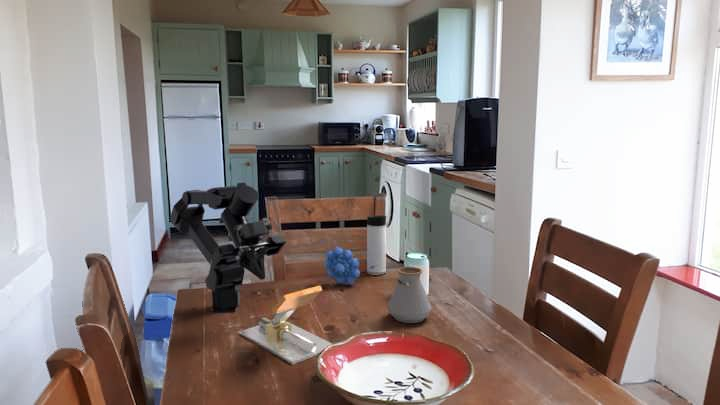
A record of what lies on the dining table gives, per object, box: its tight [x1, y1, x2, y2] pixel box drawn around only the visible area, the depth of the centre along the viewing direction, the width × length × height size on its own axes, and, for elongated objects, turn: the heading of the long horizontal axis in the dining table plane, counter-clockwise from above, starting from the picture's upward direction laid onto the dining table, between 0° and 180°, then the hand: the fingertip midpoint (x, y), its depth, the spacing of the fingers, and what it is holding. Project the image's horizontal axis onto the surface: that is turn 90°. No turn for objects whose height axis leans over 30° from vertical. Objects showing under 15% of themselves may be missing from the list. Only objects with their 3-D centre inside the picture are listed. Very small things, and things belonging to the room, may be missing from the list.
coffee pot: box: [387, 266, 432, 324], centre depth 132 cm, size 21×12×15 cm, turn 165°
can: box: [404, 252, 430, 296], centre depth 155 cm, size 7×7×12 cm
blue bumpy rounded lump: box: [323, 246, 361, 285], centre depth 163 cm, size 12×7×12 cm, turn 78°
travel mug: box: [366, 214, 387, 275], centre depth 175 cm, size 6×7×20 cm
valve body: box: [239, 317, 333, 365], centre depth 124 cm, size 22×12×3 cm, turn 43°
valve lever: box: [271, 285, 323, 325], centre depth 121 cm, size 2×10×15 cm
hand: (263, 278), depth 129 cm, fingers closed
